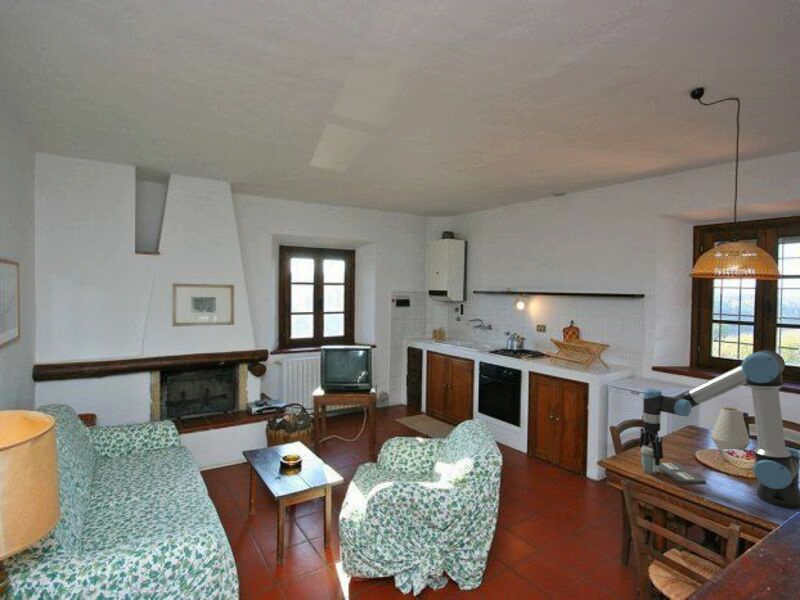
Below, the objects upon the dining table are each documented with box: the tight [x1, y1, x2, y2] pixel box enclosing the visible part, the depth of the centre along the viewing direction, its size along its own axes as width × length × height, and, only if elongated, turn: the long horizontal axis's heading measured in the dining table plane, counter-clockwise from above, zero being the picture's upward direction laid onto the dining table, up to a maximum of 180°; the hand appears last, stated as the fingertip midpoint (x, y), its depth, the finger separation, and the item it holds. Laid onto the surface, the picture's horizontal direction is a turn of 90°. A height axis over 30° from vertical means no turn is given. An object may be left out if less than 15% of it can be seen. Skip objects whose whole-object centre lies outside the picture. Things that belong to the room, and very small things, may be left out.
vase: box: [710, 406, 751, 451], centre depth 245 cm, size 17×17×23 cm
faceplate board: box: [659, 462, 706, 484], centre depth 215 cm, size 20×13×2 cm, turn 2°
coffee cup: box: [640, 444, 658, 476], centre depth 216 cm, size 9×8×12 cm
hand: (650, 467), depth 216 cm, fingers closed on coffee cup, 8 cm apart
